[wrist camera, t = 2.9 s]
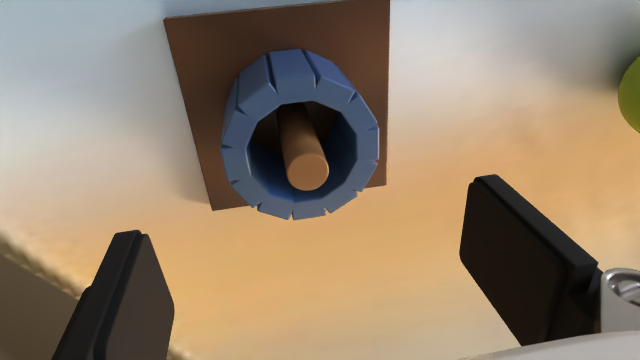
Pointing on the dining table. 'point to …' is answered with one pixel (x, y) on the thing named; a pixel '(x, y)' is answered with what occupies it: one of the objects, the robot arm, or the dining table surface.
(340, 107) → the blue ring
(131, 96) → the dining table surface
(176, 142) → the dining table surface
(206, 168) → the dowel stand
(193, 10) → the dining table surface
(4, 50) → the dining table surface
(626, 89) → the snail figurine
